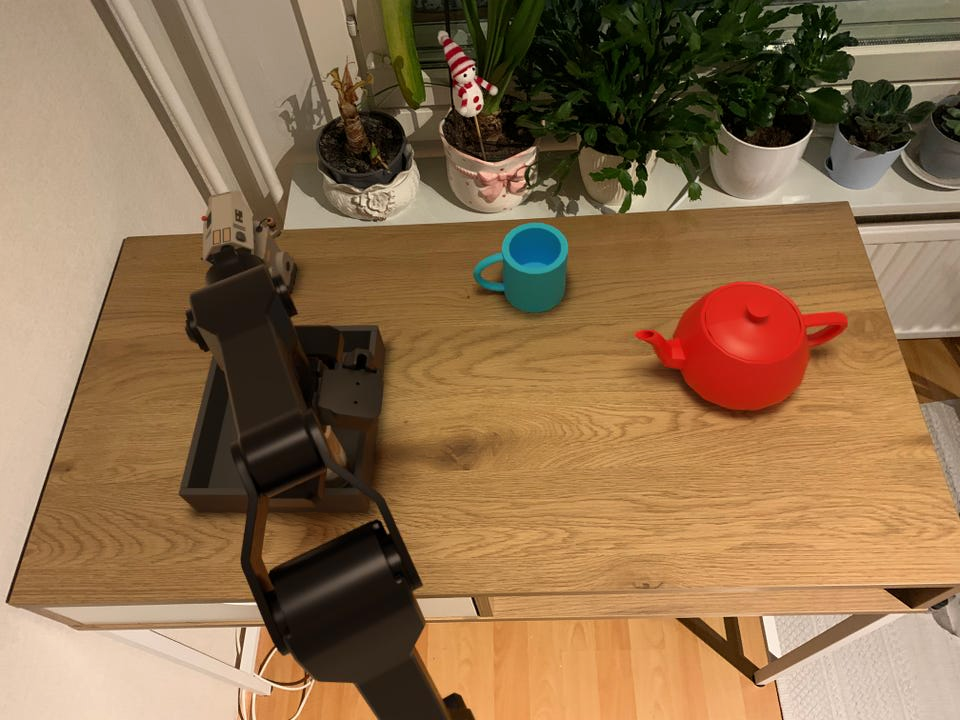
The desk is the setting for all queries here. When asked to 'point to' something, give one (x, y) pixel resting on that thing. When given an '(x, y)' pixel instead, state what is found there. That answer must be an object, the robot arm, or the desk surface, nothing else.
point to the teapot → (744, 345)
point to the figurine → (243, 235)
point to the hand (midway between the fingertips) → (321, 446)
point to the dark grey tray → (210, 459)
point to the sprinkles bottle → (342, 460)
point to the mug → (530, 267)
